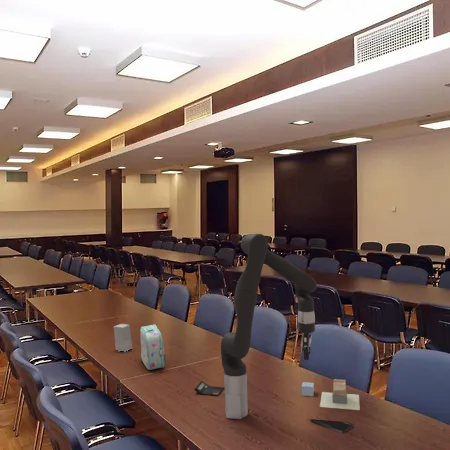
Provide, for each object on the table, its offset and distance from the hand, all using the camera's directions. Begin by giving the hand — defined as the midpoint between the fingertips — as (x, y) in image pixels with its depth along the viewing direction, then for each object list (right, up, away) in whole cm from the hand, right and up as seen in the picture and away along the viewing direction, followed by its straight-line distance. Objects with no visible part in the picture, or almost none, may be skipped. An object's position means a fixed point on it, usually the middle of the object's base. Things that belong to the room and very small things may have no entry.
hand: (307, 356), depth 204 cm
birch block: (+13, -13, -8) cm, 20 cm away
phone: (+4, -19, -27) cm, 33 cm away
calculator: (-44, -19, +8) cm, 49 cm away
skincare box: (-99, -19, +76) cm, 127 cm away
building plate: (+13, -17, -8) cm, 23 cm away
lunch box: (-77, -19, +48) cm, 93 cm away
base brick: (+13, -17, -8) cm, 22 cm away
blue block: (0, -18, +1) cm, 18 cm away
